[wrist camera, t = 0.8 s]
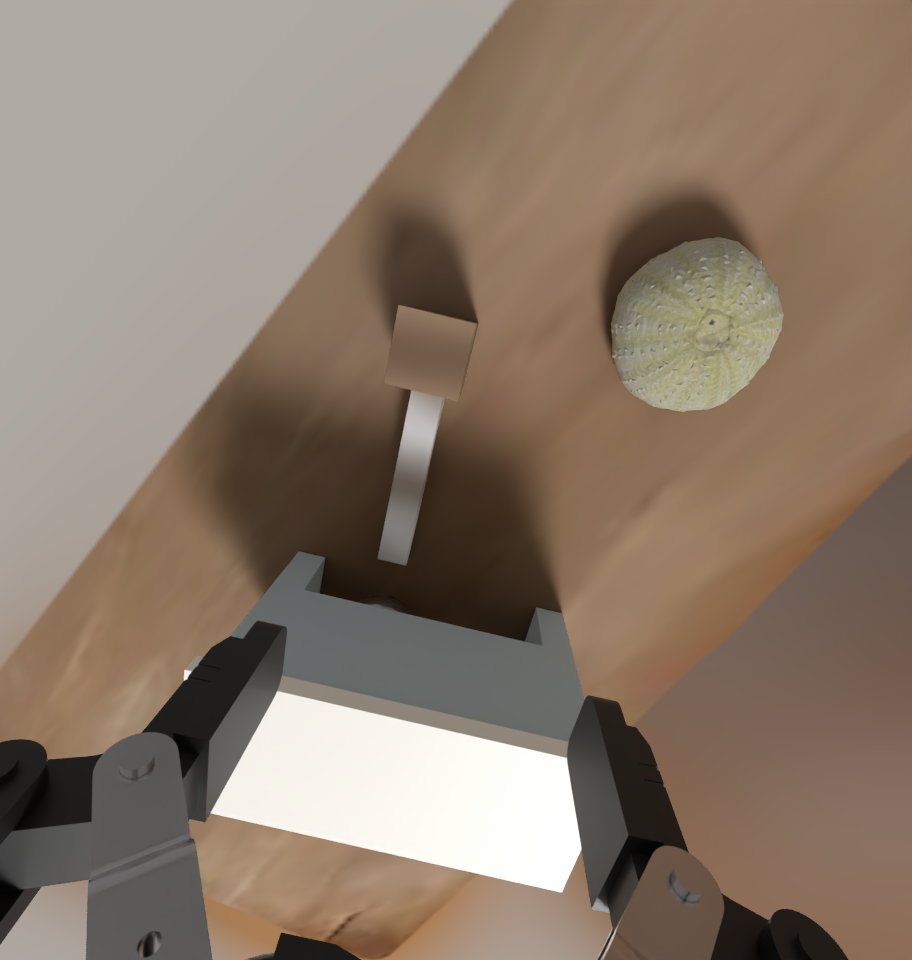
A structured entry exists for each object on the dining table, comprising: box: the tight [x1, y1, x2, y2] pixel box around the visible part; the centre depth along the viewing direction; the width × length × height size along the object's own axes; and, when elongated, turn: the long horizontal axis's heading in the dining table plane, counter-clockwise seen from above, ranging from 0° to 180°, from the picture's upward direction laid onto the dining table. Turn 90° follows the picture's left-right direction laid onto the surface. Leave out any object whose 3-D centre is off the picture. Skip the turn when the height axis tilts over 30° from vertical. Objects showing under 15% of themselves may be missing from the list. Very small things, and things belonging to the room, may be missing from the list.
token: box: [358, 595, 411, 615], centre depth 37 cm, size 5×5×2 cm
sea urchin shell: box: [611, 237, 784, 412], centre depth 28 cm, size 9×8×8 cm
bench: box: [184, 551, 584, 893], centre depth 31 cm, size 9×21×14 cm, turn 77°
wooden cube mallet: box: [377, 305, 478, 566], centre depth 30 cm, size 16×4×6 cm, turn 167°
